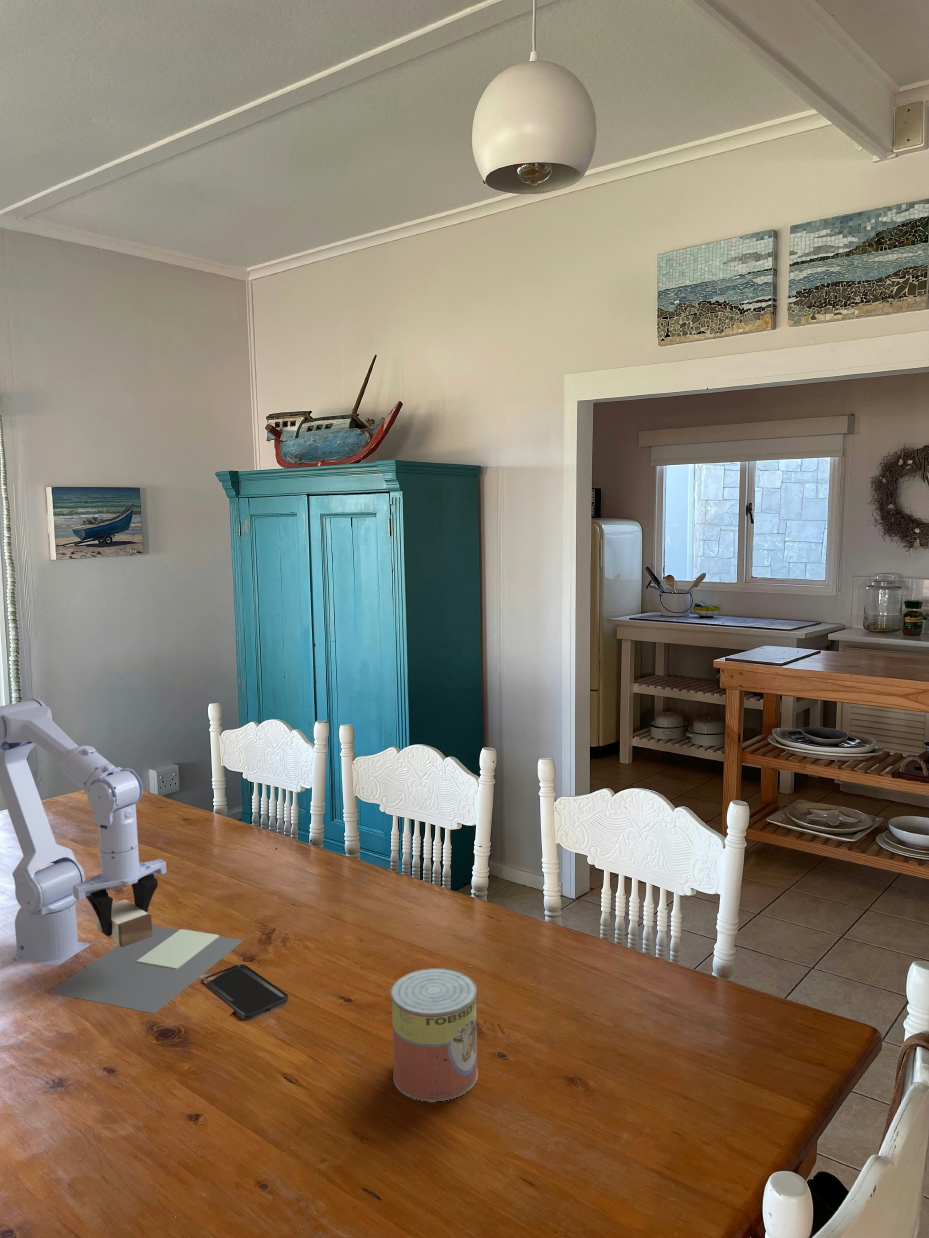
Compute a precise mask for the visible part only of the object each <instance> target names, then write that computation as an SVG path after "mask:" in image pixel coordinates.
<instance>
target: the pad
mask: <svg viewBox="0 0 929 1238" xmlns="http://www.w3.org/2000/svg"><path fill="white" fill-rule="evenodd" d="M178 930H179V931H178V932H176V933H175V934H173V935H172V936H171V937H169V938H168V939H166V940H165V941H164V942H162V943H161V944H159V945H158V946H157V947H155V948H154V949H152V950H151V951H150V952H148V953H147V954H145V955H144V956H143V957H141V958H140V959H138V960H137V961H136V962H139V963H144V964H150V965H155V966H161V967H167V968H172V969H178V968H179V967H180V966H182V965H183V964H184V963H186V962H187V961H188V960H189V959H191V958H192V957H193V956H195V955H196V954H197V953H198V952H200V951H201V950H202V949H204V948H205V947H206V946H207V945H209V944H210V943H211V942H213V941H214V940H215V939H216V938H218V937H219V936H220V935H219V934H215V933H207V932H201V931H195V930H189V929H184V928H181V929H178Z"/></svg>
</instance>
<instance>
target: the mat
mask: <svg viewBox="0 0 929 1238" xmlns="http://www.w3.org/2000/svg"><path fill="white" fill-rule="evenodd" d="M179 930H180V929H178V928H177V929H176V928H171V927H167V926H165V927H164V926H159V925H153V924H152V937H149V938H146V939H144V940H141V941H138V942H136V943H133V944H130V945H128V946H125V947H121V946H120V945H118V944H117V945H116V946H115V947H113V948H112V949H110V950H109V951H108V952H106V953H104V954H103V955H101V956H100V957H99V958H97V959H96V960H94V961H93V962H91V963H89V964H88V965H87V966H85V967H83V968H82V969H81V970H79V971H78V972H76V973H74V974H73V975H72V976H70V977H68V978H67V979H66V980H64V981H63V982H61V983H60V984H58V985H57V986H55V987H53V988H52V989H51V990H49V991H48V994H49V993H50V994H54V995H58V996H65V997H69V998H75V999H78V1000H80V999H81V1000H84V1001H89V1002H93V1003H99V1004H104V1005H109V1006H115V1007H120V1008H124V1009H129V1010H133V1011H134V1010H135V1011H139V1012H142V1013H149V1014H156V1013H157V1012H158V1011H160V1010H161V1009H162V1008H164V1007H165V1006H166V1005H167V1004H168V1003H170V1002H171V1001H172V1000H174V998H176V997H177V996H178V995H179V994H181V993H182V992H183V991H184V990H185V989H187V987H189V986H190V985H191V984H193V983H194V982H195V981H196V980H197V979H199V978H200V977H201V976H203V975H204V974H205V973H206V972H207V971H208V970H210V969H212V967H213V966H214V965H216V964H217V963H218V962H219V961H221V960H222V959H223V958H225V956H227V955H228V954H229V953H230V952H232V951H233V950H235V948H236V947H238V946H239V945H240V944H241V943H242V942H244V940H243V939H240V938H239V939H238V938H234V937H233V938H232V937H227V936H220V935H219V937H218V938H216V939H215V940H214V941H213V942H211V943H210V944H209V945H207V946H206V947H205V948H204V949H202V950H201V951H200V952H198V953H197V954H196V955H195V956H193V957H192V958H191V959H189V960H188V961H187V962H186V963H184V964H183V965H182V966H180V967H179V968H178V969H172V968H167V967H161V966H155V965H150V964H144V963H139V962H136V961H137V960H138V959H140V958H141V957H143V956H144V955H145V954H147V953H148V952H150V951H151V950H152V949H154V948H155V947H157V946H158V945H159V944H161V943H162V942H164V941H165V940H166V939H168V938H169V937H171V936H172V935H173V934H175V933H176V932H178V931H179Z"/></svg>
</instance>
